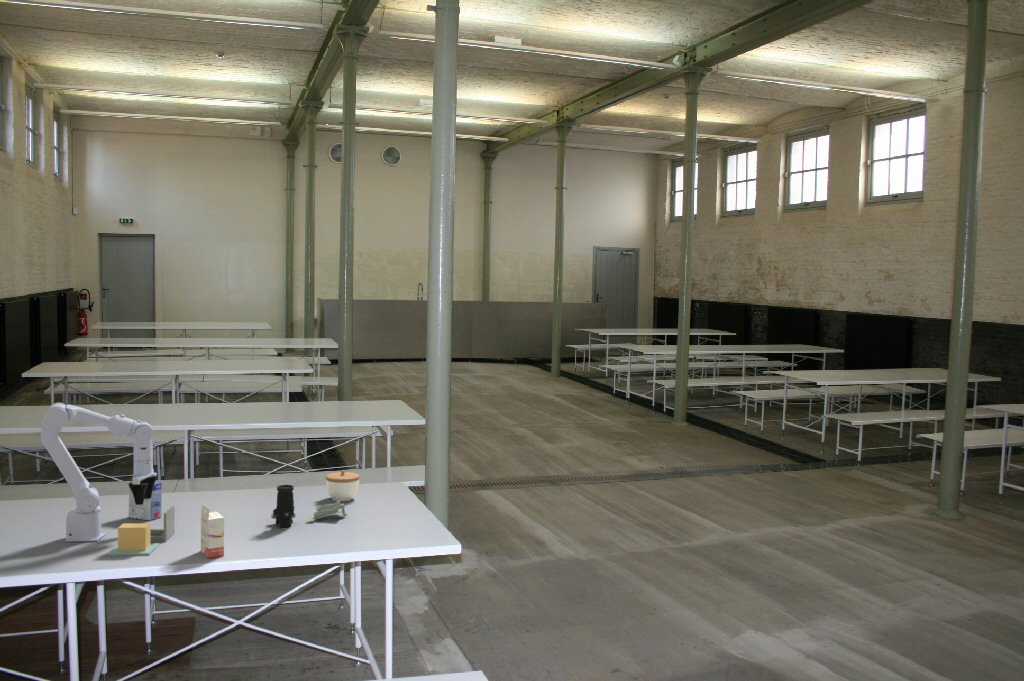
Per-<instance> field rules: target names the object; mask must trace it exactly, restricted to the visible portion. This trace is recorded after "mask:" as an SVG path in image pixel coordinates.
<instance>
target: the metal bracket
mask: <svg viewBox="0 0 1024 681" xmlns="http://www.w3.org/2000/svg"><path fill="white" fill-rule="evenodd" d="M339 513H340V514H341V516H342V517H343V518H342V519H343V520H344V519H345V518H346V517H348V513H346V510H345V503H341V501H335V502H334V503H327V504H323V505H319V506H317V507H316V509H314V510H311V511H310V512H309V514H308V516H307V519H306V520H305V522H306V523H305V524H309V523H313V522H314V521H315V520H318V519H322V518H325V517H328V516H333V515H336V514H339Z"/></svg>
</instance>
